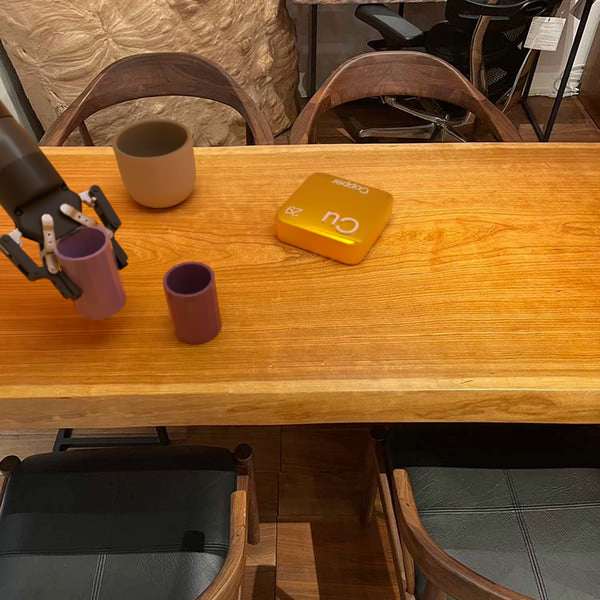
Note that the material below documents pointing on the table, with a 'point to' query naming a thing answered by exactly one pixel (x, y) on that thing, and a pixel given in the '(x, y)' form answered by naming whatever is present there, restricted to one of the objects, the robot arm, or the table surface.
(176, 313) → the plum cup
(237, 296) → the table surface
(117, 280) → the lilac cup
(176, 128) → the planter
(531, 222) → the table surface
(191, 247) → the table surface
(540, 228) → the table surface
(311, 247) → the element tile
